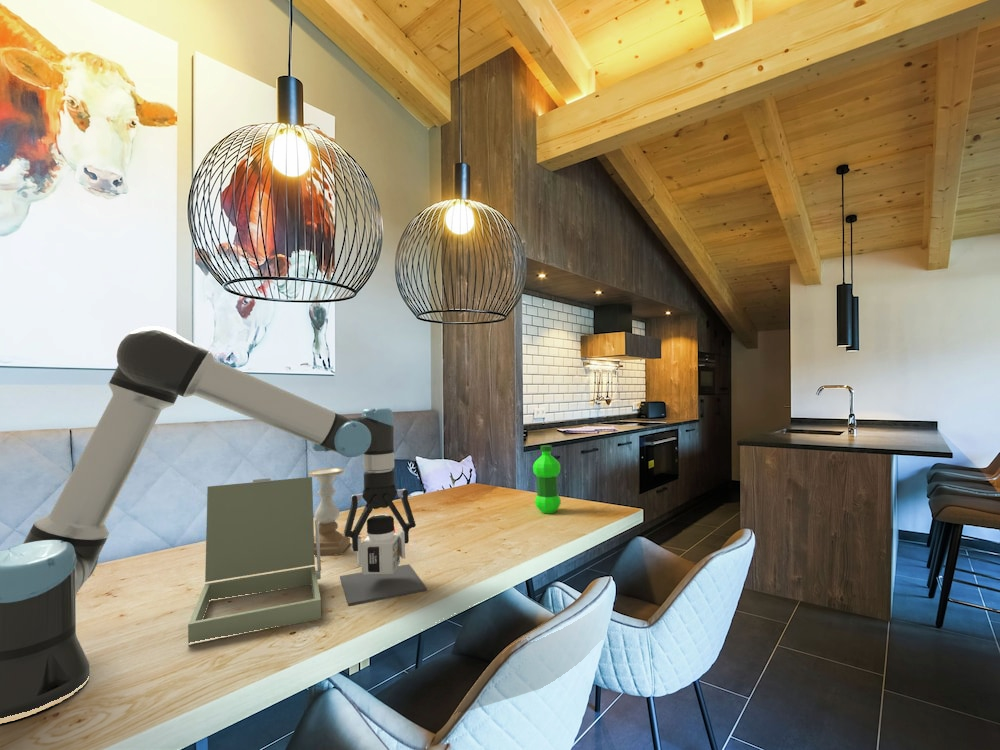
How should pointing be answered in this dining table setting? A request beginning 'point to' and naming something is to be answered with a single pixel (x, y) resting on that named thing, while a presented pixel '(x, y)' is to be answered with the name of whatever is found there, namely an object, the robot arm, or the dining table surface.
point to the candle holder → (328, 514)
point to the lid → (259, 527)
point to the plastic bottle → (547, 481)
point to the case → (259, 617)
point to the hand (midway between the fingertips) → (381, 560)
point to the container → (380, 546)
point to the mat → (381, 585)
